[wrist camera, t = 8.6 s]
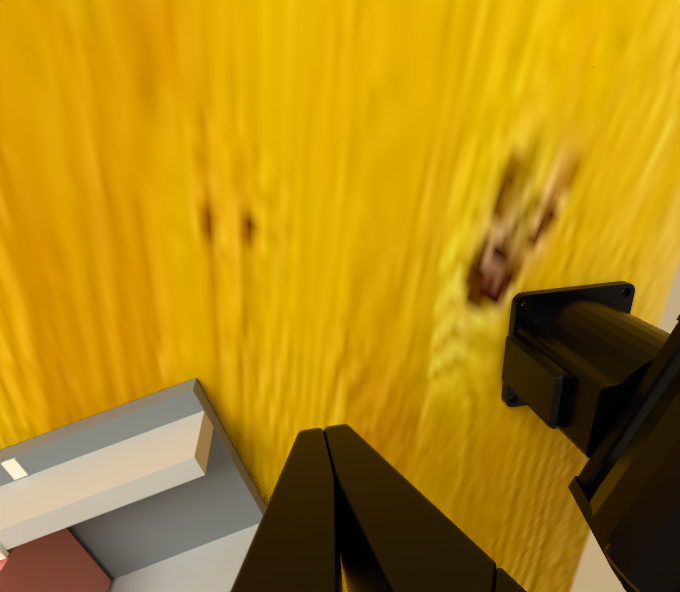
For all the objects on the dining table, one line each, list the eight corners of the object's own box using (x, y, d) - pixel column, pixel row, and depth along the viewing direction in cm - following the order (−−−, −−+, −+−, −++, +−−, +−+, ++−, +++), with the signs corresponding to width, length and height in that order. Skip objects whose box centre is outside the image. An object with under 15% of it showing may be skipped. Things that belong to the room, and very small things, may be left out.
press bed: (196, 377, 20) (179, 437, 16) (280, 531, 24) (283, 608, 20) (-141, 501, 19) (-245, 595, 15) (7, 636, 23) (-44, 736, 19)
